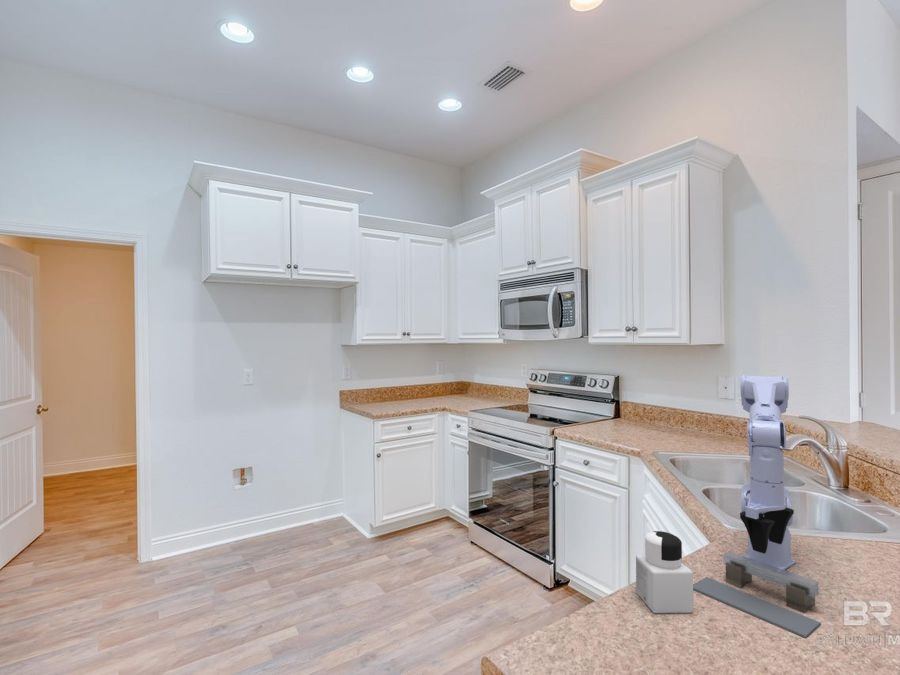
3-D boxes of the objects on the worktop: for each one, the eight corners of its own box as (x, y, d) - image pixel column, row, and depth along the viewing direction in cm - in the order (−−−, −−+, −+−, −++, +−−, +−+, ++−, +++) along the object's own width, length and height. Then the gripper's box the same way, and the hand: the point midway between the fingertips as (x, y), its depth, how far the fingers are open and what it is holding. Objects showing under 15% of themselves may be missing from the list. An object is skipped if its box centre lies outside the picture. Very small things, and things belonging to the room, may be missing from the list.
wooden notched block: (736, 575, 100) (736, 557, 101) (752, 581, 98) (751, 562, 98) (725, 581, 98) (725, 562, 98) (741, 588, 95) (740, 568, 95)
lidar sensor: (672, 591, 94) (672, 527, 94) (694, 613, 86) (693, 543, 86) (635, 592, 93) (635, 527, 94) (653, 614, 86) (653, 543, 86)
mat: (706, 578, 99) (706, 576, 99) (820, 624, 83) (820, 622, 83) (689, 588, 95) (689, 586, 95) (805, 638, 79) (805, 636, 79)
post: (796, 598, 91) (796, 577, 92) (814, 604, 89) (814, 584, 89) (786, 605, 89) (786, 584, 89) (805, 613, 86) (804, 591, 86)
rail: (729, 561, 101) (728, 551, 101) (818, 593, 88) (818, 581, 88) (723, 564, 99) (723, 554, 99) (813, 597, 86) (813, 585, 86)
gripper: (760, 470, 101) (761, 532, 101) (728, 480, 93) (729, 548, 93) (798, 477, 96) (799, 543, 95) (768, 489, 87) (769, 561, 87)
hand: (767, 546), depth 94 cm, fingers open, 7 cm apart
